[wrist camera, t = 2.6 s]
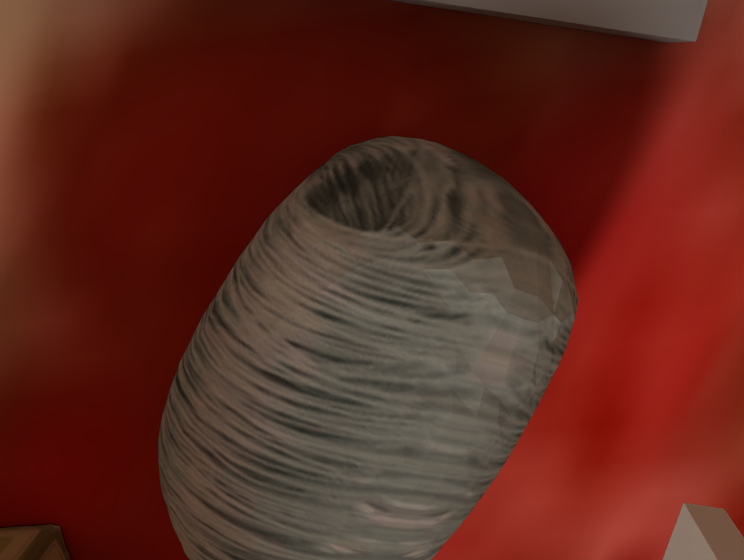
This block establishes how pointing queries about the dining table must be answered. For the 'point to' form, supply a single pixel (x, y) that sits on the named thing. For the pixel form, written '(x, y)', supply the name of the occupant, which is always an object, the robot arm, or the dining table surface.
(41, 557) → the food packaging
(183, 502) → the spool
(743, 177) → the dining table surface
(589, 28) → the plate
